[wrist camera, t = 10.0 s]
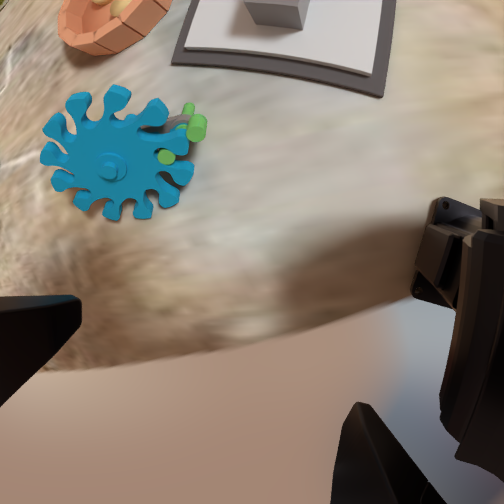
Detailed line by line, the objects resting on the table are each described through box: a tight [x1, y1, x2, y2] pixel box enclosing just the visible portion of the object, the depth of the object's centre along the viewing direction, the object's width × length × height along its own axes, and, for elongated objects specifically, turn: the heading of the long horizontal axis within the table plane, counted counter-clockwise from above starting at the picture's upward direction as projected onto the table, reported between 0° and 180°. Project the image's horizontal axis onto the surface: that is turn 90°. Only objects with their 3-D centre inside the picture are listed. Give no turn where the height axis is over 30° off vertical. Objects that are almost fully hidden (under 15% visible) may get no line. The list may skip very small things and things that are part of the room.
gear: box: [40, 84, 207, 221], centre depth 18 cm, size 11×6×10 cm
